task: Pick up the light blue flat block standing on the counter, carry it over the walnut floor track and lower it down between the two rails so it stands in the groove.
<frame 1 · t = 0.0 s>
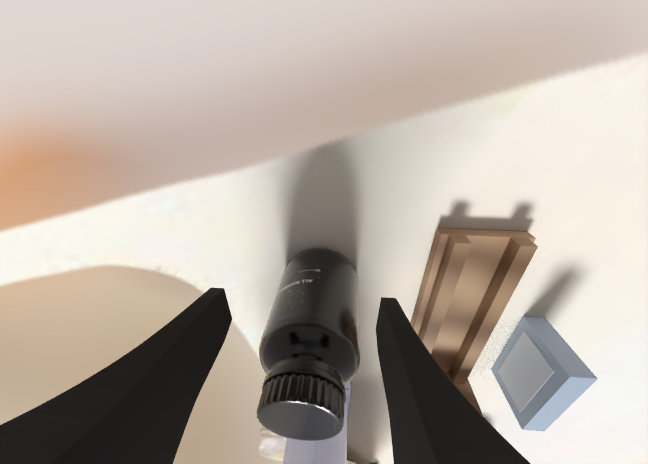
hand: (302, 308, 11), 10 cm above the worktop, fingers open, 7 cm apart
coffee press: (331, 456, 45), on the worktop
door track: (448, 315, 25), on the worktop
light blue flat block: (514, 344, 27), on the worktop
supplement bottle: (320, 274, 24), on the worktop
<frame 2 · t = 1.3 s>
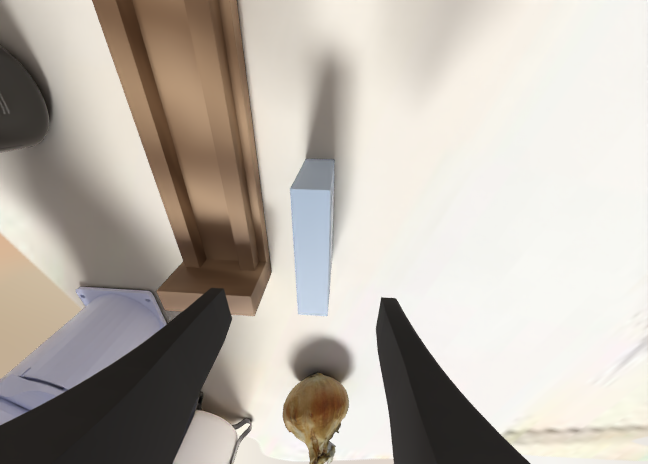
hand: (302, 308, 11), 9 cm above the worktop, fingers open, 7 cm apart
coffee press: (198, 410, 38), on the worktop
door track: (210, 163, 18), on the worktop
onion: (320, 377, 31), on the worktop
light blue flat block: (320, 216, 20), on the worktop
supplement bottle: (6, 93, 17), on the worktop
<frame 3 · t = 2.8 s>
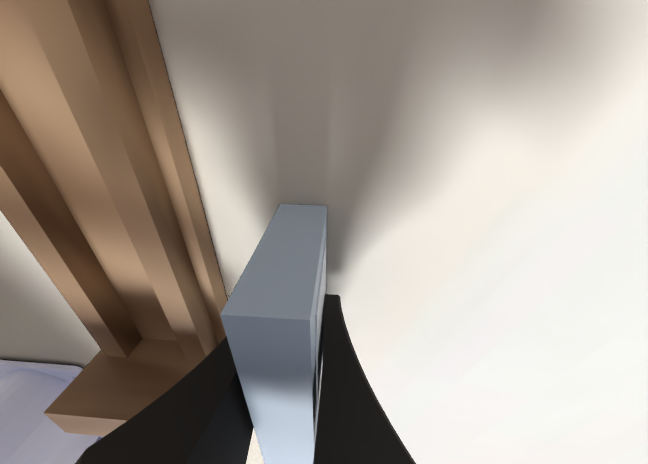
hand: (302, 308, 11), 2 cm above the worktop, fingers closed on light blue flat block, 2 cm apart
door track: (129, 208, 11), on the worktop
light blue flat block: (306, 284, 13), on the worktop, touching gripper
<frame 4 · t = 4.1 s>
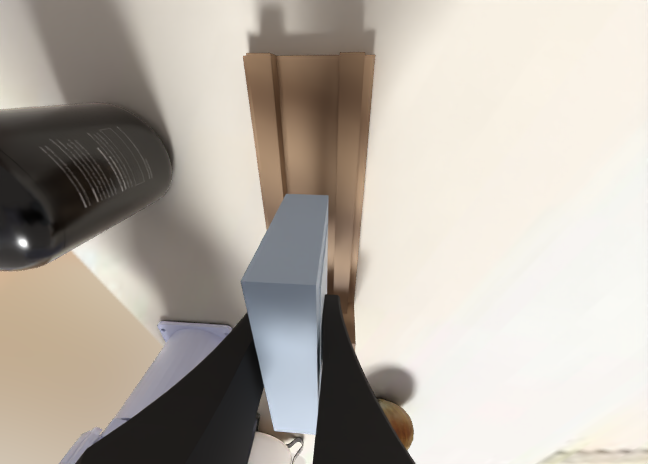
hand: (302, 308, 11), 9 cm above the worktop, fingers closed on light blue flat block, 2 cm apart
coffee press: (250, 429, 40), on the worktop
door track: (313, 216, 19), on the worktop
onion: (379, 401, 32), on the worktop
light blue flat block: (309, 269, 14), point 6 cm above the worktop, touching gripper
supplement bottle: (131, 156, 18), on the worktop
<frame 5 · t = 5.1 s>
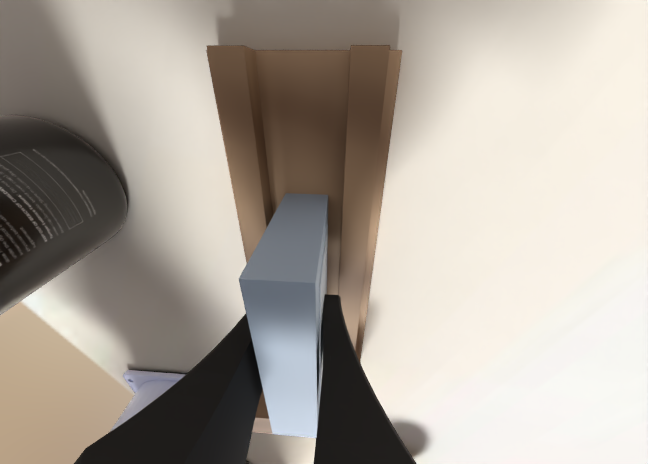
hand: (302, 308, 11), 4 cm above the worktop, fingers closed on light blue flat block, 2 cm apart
door track: (310, 260, 15), on the worktop
light blue flat block: (309, 269, 14), point 1 cm above the worktop, touching door track, gripper
supplement bottle: (69, 183, 13), on the worktop
when the fingers open (3 cm above the worktop, at t = 5.5 s): light blue flat block stays where it is, resting on door track.
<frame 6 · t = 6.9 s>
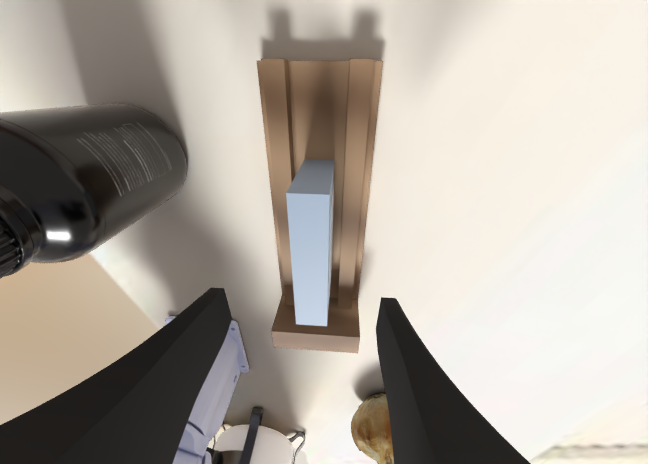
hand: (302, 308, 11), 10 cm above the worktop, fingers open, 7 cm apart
coffee press: (253, 424, 40), on the worktop
door track: (320, 214, 20), on the worktop
onion: (380, 396, 33), on the worktop
light blue flat block: (319, 219, 19), point 1 cm above the worktop, touching door track
supplement bottle: (145, 154, 18), on the worktop
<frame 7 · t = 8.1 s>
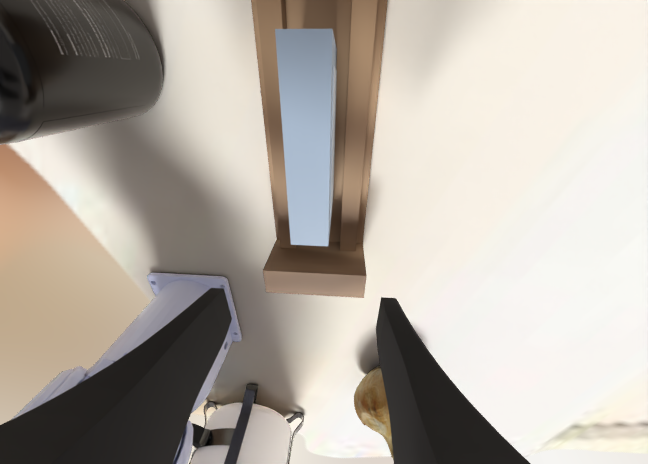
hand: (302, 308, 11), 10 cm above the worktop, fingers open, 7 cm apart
coffee press: (248, 404, 37), on the worktop
door track: (320, 134, 17), on the worktop
onion: (385, 368, 30), on the worktop
light blue flat block: (319, 136, 16), point 1 cm above the worktop, touching door track
supplement bottle: (113, 57, 16), on the worktop
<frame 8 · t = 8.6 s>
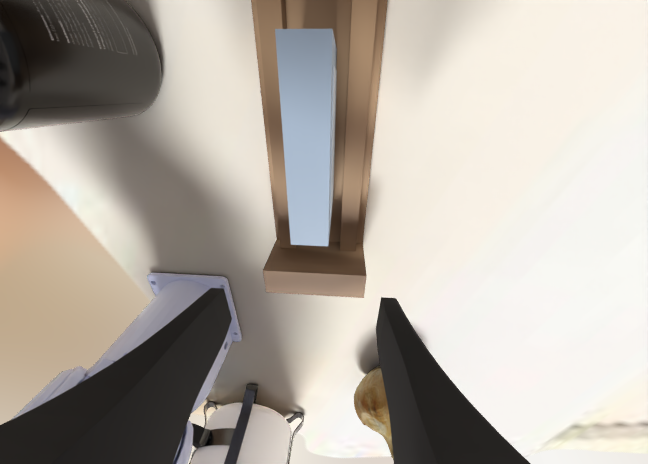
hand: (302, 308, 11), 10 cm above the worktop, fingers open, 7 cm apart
coffee press: (248, 404, 37), on the worktop
door track: (320, 134, 17), on the worktop
onion: (385, 368, 30), on the worktop
light blue flat block: (319, 136, 16), point 1 cm above the worktop, touching door track
supplement bottle: (113, 57, 16), on the worktop
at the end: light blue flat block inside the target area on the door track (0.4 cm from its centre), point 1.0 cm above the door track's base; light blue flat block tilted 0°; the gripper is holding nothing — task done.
